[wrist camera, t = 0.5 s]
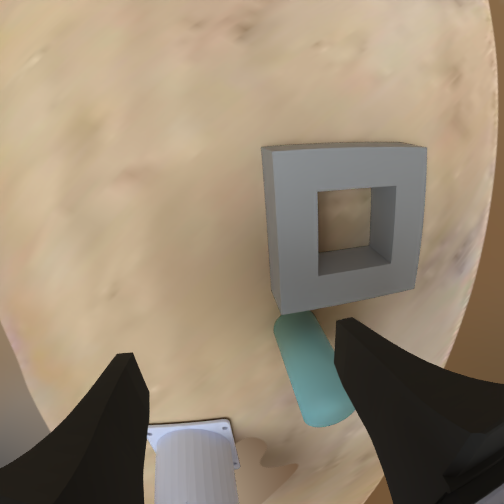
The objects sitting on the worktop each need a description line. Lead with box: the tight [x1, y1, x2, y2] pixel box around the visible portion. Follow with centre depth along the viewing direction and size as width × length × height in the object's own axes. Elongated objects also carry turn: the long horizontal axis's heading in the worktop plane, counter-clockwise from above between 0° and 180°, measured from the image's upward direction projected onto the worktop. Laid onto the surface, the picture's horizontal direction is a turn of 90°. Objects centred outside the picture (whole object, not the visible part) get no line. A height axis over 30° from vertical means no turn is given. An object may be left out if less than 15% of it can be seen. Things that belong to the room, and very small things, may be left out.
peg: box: [274, 310, 355, 427], centre depth 19 cm, size 3×3×8 cm
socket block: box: [261, 142, 427, 315], centre depth 19 cm, size 9×9×3 cm
